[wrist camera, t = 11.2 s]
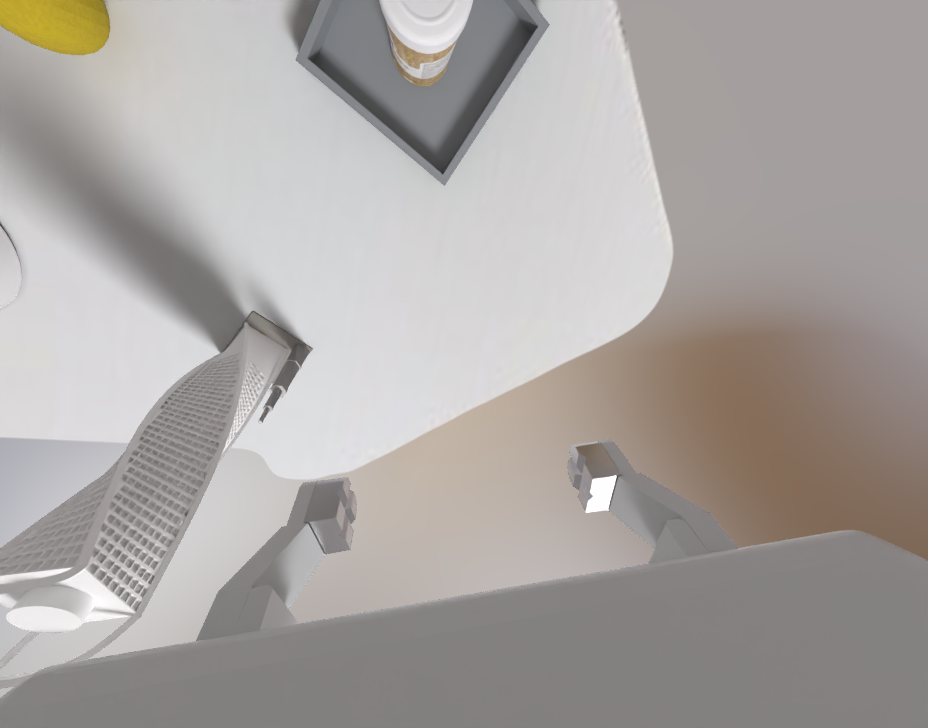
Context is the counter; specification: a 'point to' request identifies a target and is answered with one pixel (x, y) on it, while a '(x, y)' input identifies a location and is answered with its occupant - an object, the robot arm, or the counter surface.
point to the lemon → (58, 24)
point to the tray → (422, 107)
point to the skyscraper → (142, 497)
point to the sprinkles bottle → (424, 35)
